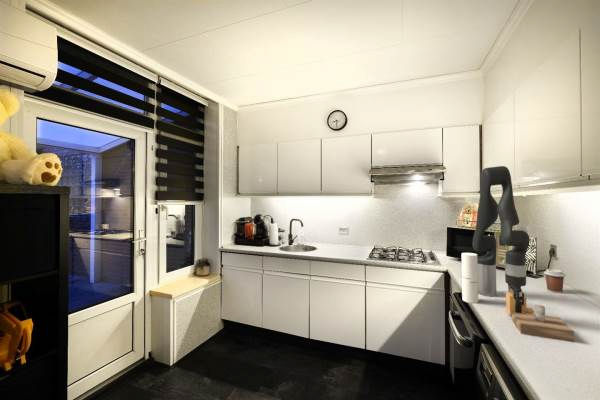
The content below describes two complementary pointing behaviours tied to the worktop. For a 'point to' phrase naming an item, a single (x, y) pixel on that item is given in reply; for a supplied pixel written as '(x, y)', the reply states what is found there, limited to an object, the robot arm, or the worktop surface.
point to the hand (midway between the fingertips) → (516, 309)
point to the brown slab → (542, 325)
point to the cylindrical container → (469, 278)
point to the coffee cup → (554, 280)
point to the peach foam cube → (511, 305)
